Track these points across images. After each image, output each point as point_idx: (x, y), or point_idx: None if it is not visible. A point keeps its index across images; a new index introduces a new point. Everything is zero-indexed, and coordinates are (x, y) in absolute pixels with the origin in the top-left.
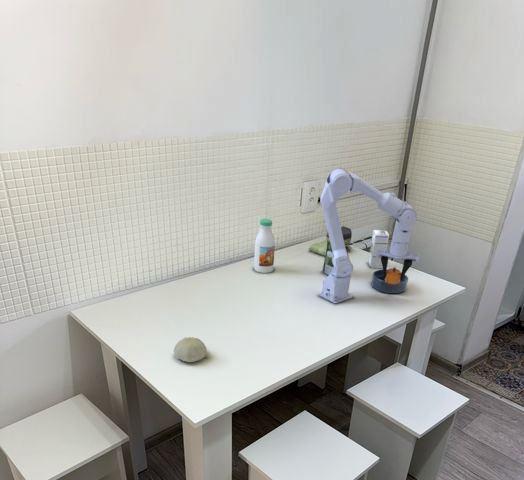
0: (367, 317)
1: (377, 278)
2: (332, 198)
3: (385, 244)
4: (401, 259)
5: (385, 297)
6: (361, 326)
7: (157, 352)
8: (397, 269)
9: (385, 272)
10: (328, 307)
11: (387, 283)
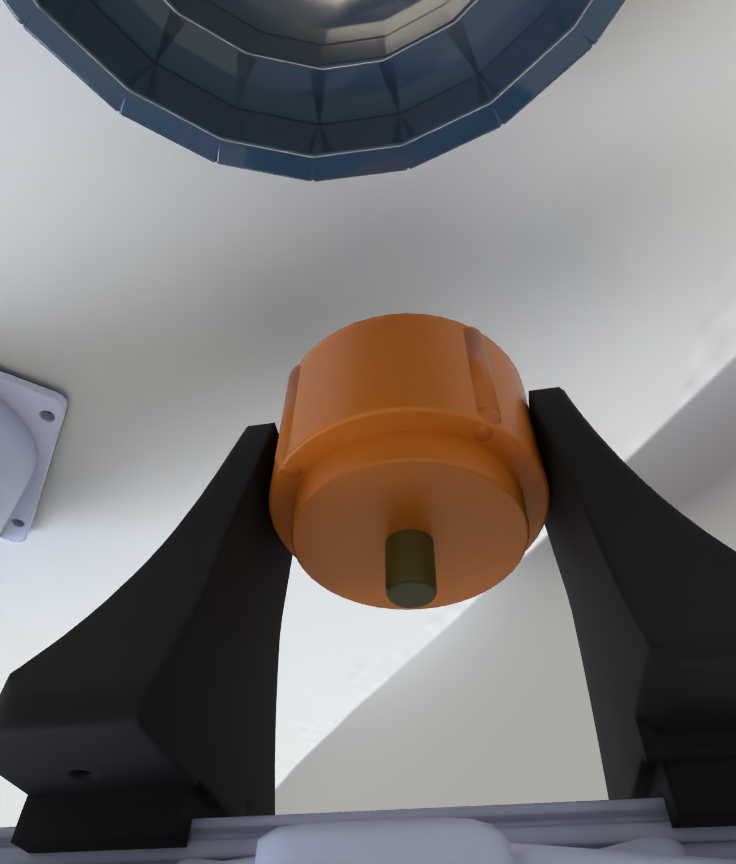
0: (309, 593)
1: (113, 86)
2: None
3: None
4: (546, 820)
5: (360, 234)
6: (309, 665)
7: None
8: (468, 476)
9: (280, 581)
10: (26, 578)
11: (327, 175)
